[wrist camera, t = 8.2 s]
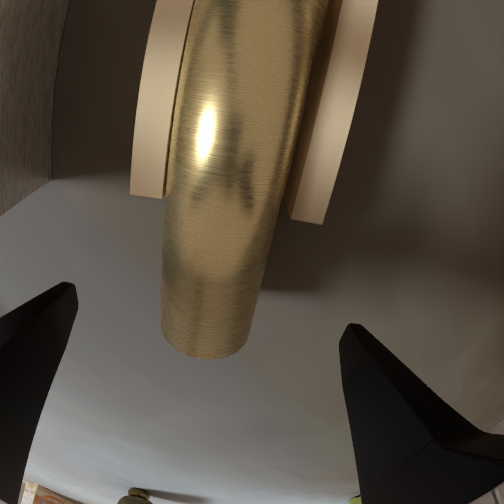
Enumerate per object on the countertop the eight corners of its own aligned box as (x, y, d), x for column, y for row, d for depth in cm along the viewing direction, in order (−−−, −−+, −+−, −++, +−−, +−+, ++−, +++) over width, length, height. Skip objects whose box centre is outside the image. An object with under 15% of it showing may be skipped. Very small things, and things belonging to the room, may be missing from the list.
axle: (225, -48, 8) (205, -94, 4) (326, -33, 8) (345, -77, 4) (174, 290, 16) (149, 346, 12) (251, 306, 16) (245, 367, 12)
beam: (212, -99, 6) (206, -134, 4) (364, -68, 7) (391, -94, 4) (152, 170, 13) (129, 194, 10) (305, 194, 14) (322, 224, 11)
